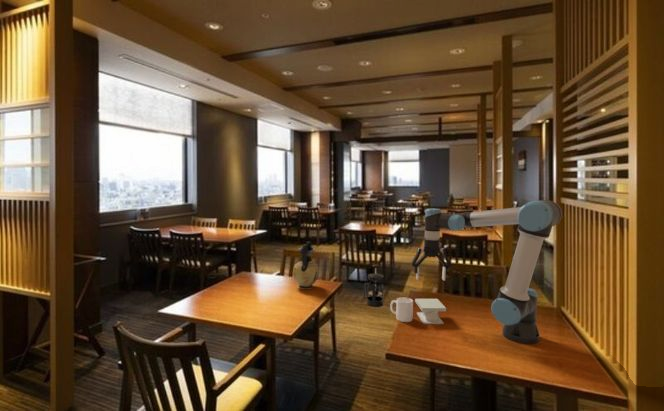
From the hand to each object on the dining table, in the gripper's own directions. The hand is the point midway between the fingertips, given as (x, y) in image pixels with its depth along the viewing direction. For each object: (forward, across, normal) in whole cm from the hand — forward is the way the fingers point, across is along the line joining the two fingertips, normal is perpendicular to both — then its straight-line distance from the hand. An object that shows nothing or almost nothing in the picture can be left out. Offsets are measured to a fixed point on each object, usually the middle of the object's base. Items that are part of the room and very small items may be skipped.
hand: (430, 279), depth 183 cm
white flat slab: (+14, 0, 0) cm, 14 cm away
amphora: (+21, +67, -52) cm, 87 cm away
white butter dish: (+20, 0, 0) cm, 20 cm away
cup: (+21, +15, 0) cm, 25 cm away
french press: (+21, +26, -21) cm, 39 cm away
